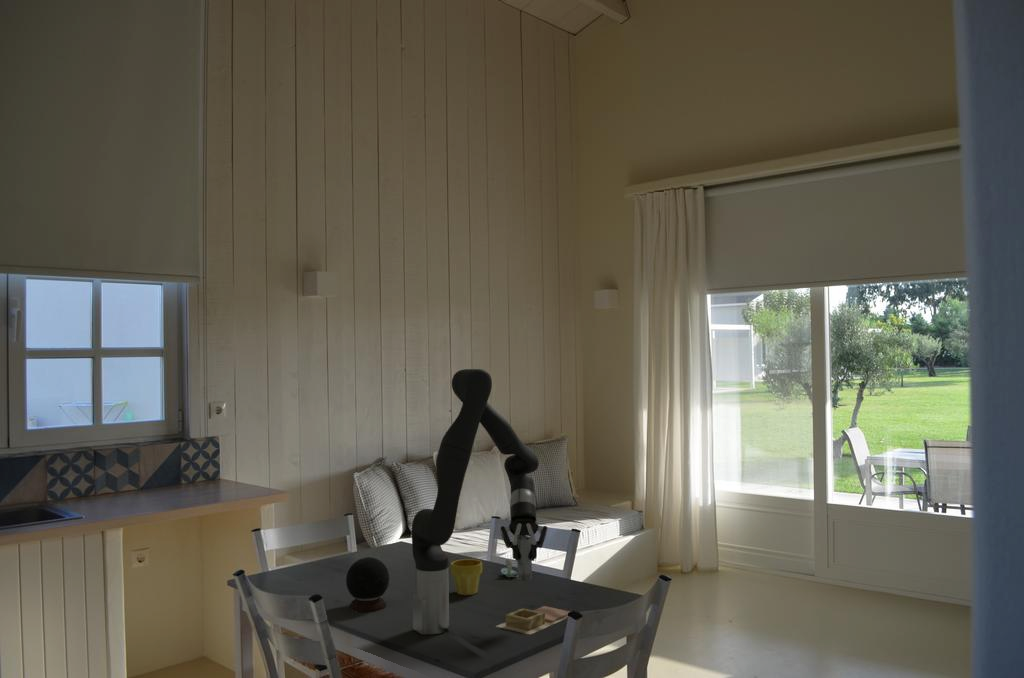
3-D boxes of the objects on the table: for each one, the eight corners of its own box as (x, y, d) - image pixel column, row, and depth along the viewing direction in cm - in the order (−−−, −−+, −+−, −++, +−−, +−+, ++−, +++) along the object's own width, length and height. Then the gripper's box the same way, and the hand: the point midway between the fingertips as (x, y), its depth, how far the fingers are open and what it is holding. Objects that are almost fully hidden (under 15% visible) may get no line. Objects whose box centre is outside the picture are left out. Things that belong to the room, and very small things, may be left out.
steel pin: (522, 581, 223) (522, 537, 223) (514, 578, 226) (514, 534, 227) (534, 579, 225) (534, 535, 226) (526, 576, 228) (526, 533, 229)
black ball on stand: (347, 615, 240) (347, 564, 241) (344, 602, 253) (344, 554, 253) (391, 611, 244) (391, 561, 244) (386, 599, 256) (386, 551, 257)
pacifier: (513, 573, 288) (499, 575, 285) (513, 555, 289) (499, 557, 286) (524, 577, 282) (510, 579, 279) (524, 559, 283) (510, 561, 279)
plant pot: (444, 594, 261) (444, 564, 261) (461, 587, 270) (461, 557, 270) (472, 598, 256) (472, 567, 256) (488, 590, 265) (488, 560, 266)
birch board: (530, 639, 217) (529, 623, 217) (495, 630, 224) (495, 615, 224) (576, 617, 235) (576, 603, 235) (543, 610, 242) (543, 596, 242)
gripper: (498, 500, 234) (499, 552, 221) (547, 500, 234) (551, 551, 222) (498, 515, 239) (499, 567, 226) (546, 515, 239) (549, 566, 227)
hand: (524, 559), depth 224 cm, fingers closed on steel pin, 4 cm apart
